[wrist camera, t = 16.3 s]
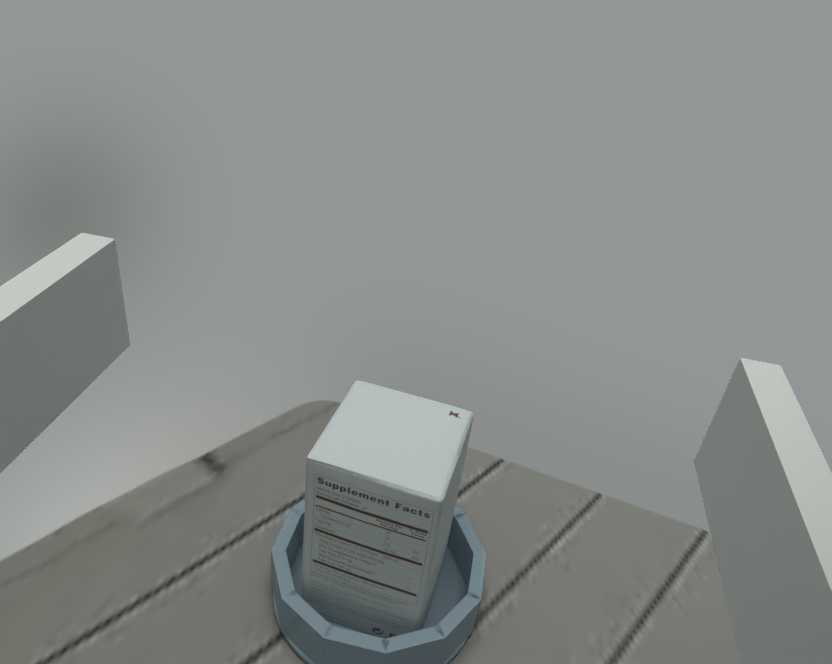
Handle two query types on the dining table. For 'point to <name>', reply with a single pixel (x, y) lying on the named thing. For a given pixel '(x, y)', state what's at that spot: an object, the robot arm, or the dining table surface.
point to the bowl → (363, 653)
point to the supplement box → (381, 508)
